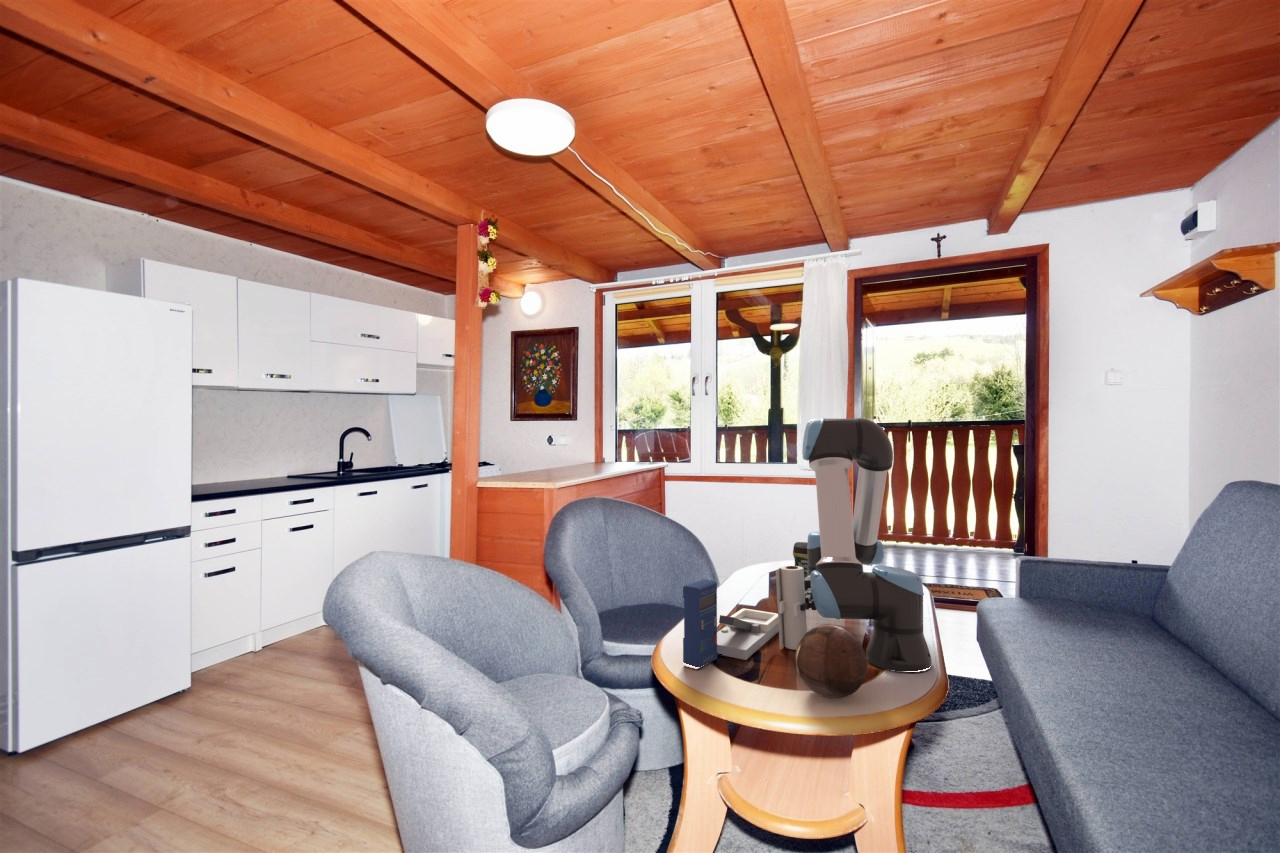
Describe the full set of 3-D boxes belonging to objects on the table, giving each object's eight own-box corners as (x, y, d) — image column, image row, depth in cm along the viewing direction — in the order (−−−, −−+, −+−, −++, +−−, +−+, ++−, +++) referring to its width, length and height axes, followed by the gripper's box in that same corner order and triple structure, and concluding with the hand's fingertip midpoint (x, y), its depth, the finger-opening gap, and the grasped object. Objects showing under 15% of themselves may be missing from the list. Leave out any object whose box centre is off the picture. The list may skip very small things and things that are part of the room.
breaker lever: (738, 621, 170) (718, 614, 158) (754, 624, 168) (735, 617, 156) (737, 629, 169) (717, 622, 158) (753, 631, 167) (734, 625, 155)
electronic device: (699, 671, 145) (699, 588, 145) (681, 666, 148) (681, 585, 148) (718, 659, 152) (718, 581, 153) (701, 655, 155) (701, 578, 156)
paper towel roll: (807, 644, 163) (803, 565, 164) (807, 651, 157) (803, 569, 158) (780, 642, 165) (776, 564, 166) (779, 649, 159) (775, 569, 160)
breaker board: (742, 622, 182) (742, 608, 183) (781, 629, 176) (780, 614, 176) (703, 651, 158) (703, 634, 158) (746, 660, 152) (745, 642, 152)
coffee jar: (790, 594, 215) (790, 543, 216) (795, 589, 223) (794, 539, 223) (818, 597, 211) (818, 545, 212) (822, 592, 218) (821, 541, 219)
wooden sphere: (873, 690, 133) (872, 623, 134) (860, 717, 121) (859, 642, 121) (805, 676, 141) (805, 613, 141) (787, 700, 128) (786, 630, 128)
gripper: (840, 606, 172) (819, 628, 152) (784, 599, 181) (757, 619, 161) (839, 580, 173) (819, 599, 152) (784, 574, 181) (757, 591, 161)
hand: (787, 609), depth 157 cm, fingers closed on paper towel roll, 3 cm apart
